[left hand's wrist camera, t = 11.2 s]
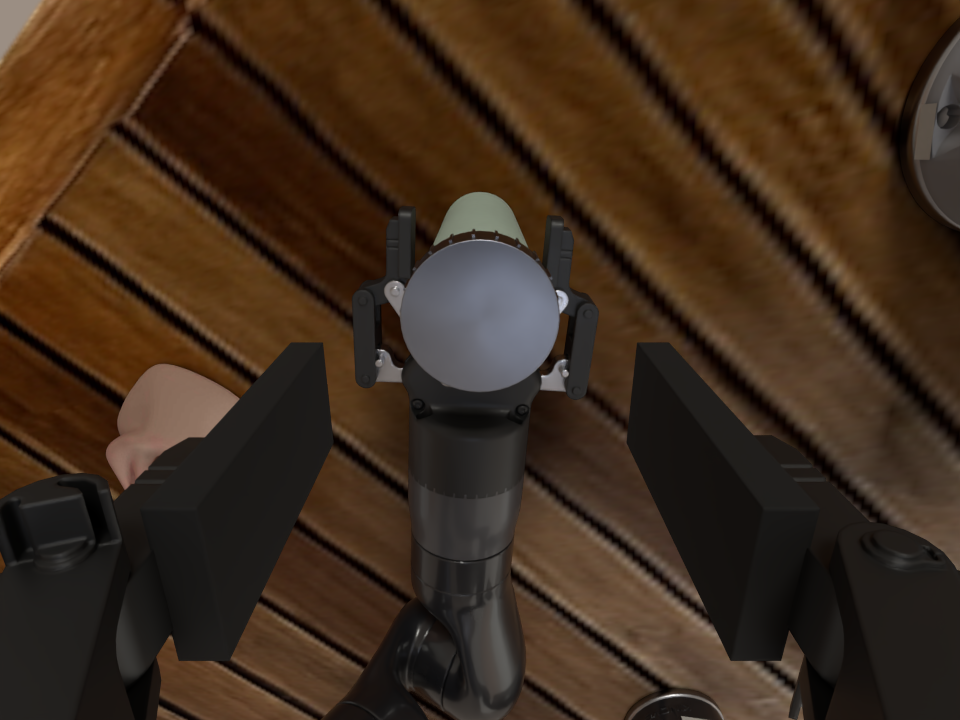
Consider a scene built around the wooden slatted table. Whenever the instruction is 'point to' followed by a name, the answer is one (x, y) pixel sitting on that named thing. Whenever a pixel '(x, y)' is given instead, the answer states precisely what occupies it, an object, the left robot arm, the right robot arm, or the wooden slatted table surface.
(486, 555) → the right robot arm
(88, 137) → the wooden slatted table surface
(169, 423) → the anatomical model
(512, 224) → the pale green cylinder
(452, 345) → the lid
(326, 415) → the left robot arm
